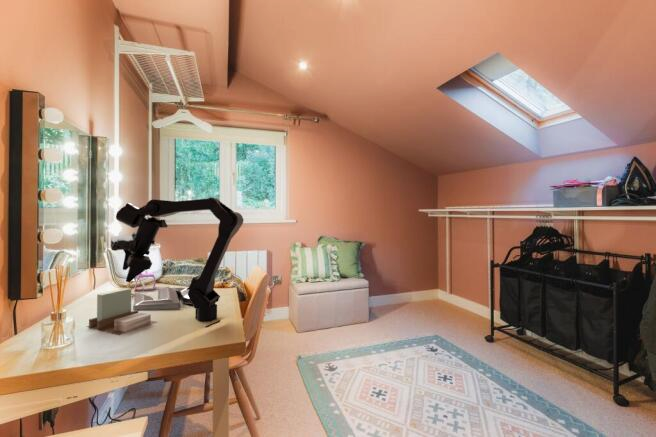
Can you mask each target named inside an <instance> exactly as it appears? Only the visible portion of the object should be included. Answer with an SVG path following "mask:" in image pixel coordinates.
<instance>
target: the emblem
mask: <svg viewBox="0 0 656 437" xmlns="http://www.w3.org/2000/svg"><path fill="white" fill-rule="evenodd" d="M187 288H188V287H179V286H178V287H177V286H165V287H163V288H159V289H158V291H157V299H154V298H153V297H152V296H150V295H146V294H144V293H141V294H138V295H136V296H134V298H133V299H134V301H133V305H132V311H135V310H138V311H157V310H159V311H160V310H161V311H163V310H164V311H165V310H180V301H179V300H181V302H182V303H183V304H187V305H193V303H192V301H191V300H190V299H189V296H188V291H189V290H187Z"/></svg>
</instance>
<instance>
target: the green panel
mask: <svg viewBox="0 0 656 437" xmlns="http://www.w3.org/2000/svg"><path fill="white" fill-rule="evenodd" d="M131 293H132V288H130V287H128V288H126V287H125V288H120V289H118V290H115V289H114V290H110V291H106V292H102V293H97V296H96V298H97V300H96V302H97V303H96V307H97V308H96V317H97V321H99V320H103V319H106V318H110V317H113V316H117V315H121V314H124V313H128V312H131V311H132V295H131Z"/></svg>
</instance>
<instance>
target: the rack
mask: <svg viewBox="0 0 656 437" xmlns="http://www.w3.org/2000/svg"><path fill="white" fill-rule="evenodd" d="M136 313H139V310H131V312H128V313H124V314H121V315H117V316H113V317H110V318H106V319H103V320H99V321H97V316H96V317H92V318H89V319H88V325H87V326H86V328H89V329H93V330H97V331H101V332H105V333H107V334H112V335H117V336H122V335H124V334H127V333H130V332H132V331H136V330H138V329H141V328H145V327H147V326H150V325H154V324H156V323H157V321H154V320H151V324H148V325H145V326H142V327H139V328H136V329H134V330H131V331H128V332H121V331H117V330H114V320H116V319H119V318H122V317H126V316H129V315H133V314H136Z"/></svg>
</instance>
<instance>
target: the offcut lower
mask: <svg viewBox="0 0 656 437" xmlns="http://www.w3.org/2000/svg"><path fill="white" fill-rule="evenodd" d="M151 321H152V320H151V319H149V320H146V321H143V322H140V323H137V324H134V325H131V326H128V327H122V326H117V325H114V330H117V331H121V332H127V333H129V332H128V331H130V332H132V331H131V330H133V331H135V330H134V329H136V328H139V327H142V326H145V325H148V324H151ZM151 325H152V324H151ZM148 326H149V325H148ZM145 327H146V326H145ZM142 328H143V327H142ZM139 329H140V328H139ZM136 330H137V329H136Z"/></svg>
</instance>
